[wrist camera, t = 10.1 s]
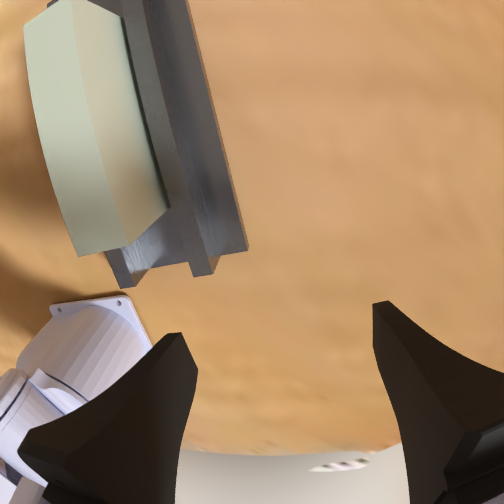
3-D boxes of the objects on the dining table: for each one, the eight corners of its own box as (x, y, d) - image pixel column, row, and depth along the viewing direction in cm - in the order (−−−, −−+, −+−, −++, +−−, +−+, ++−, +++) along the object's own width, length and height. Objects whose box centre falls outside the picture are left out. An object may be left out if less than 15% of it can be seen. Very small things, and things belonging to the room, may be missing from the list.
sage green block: (177, 200, 19) (129, 245, 12) (129, 213, 19) (70, 259, 13) (134, 24, 14) (70, -7, 8) (88, 46, 15) (16, 31, 8)
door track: (248, 245, 20) (243, 268, 17) (119, 269, 22) (99, 292, 19) (179, -36, 13) (162, -57, 10) (55, 25, 14) (27, 18, 11)
